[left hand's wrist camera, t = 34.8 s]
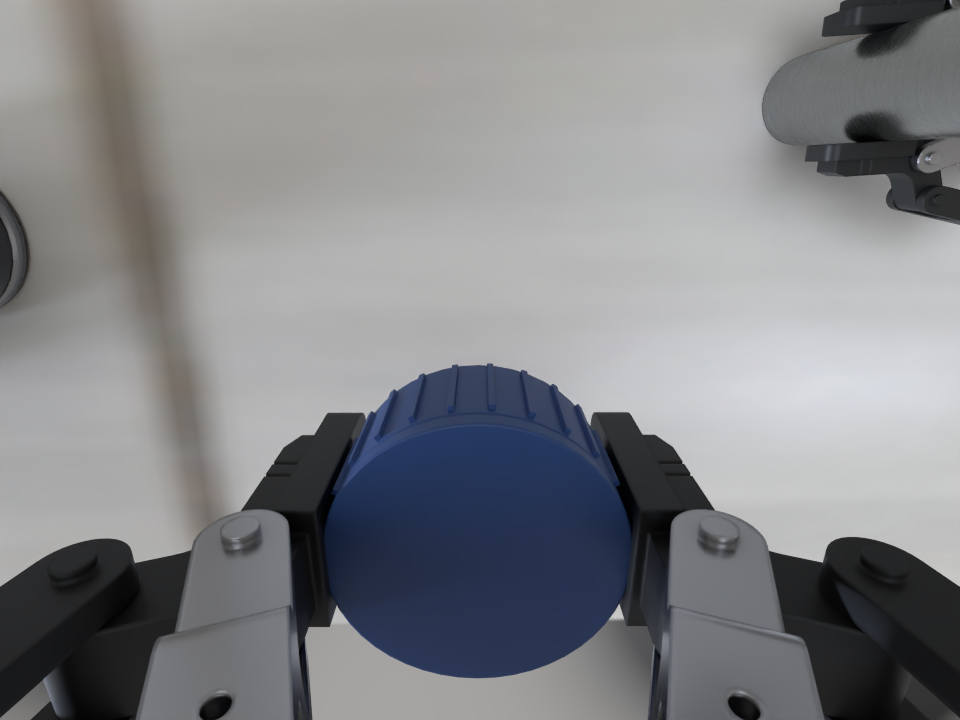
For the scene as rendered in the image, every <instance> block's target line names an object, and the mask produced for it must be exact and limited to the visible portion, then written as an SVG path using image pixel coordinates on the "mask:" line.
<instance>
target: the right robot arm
mask: <svg viewBox="0 0 960 720" xmlns="http://www.w3.org/2000/svg"><path fill="white" fill-rule="evenodd" d="M958 6H960V0H845V1H843V2H841V4H840V11H839V12H837V13H834V14H832V15H829V16H827V17H825V18H824V23H823V30H822V36H823V37H829V36H843V35H857V34H872V33H876V32H879V31H882V30H886V29H889V28H892V27H895V26H898V25H901V24H905V23H908V22H911V21H914V20H917V19H920V18H924V17H927V16H930V15H933V14H936V13H939V12H943V11H946V10H949V9H952V8H955V7H958ZM805 161H814V162H818V166H817V172H818V173H821V174H824V175H827V176H845V177H846V176H861V175H876V174H886V175H887V176H888V177H889V179H890V181H891V186H892V188H891V189H890V191H889V192H888V194H887V197H886V203H887V205H888V206H889V207H890V208H891V209H895V210H899V211H903V212H908V213H912V214H916V215H920V216H924V217H929V218H933V219H937V220H941V221H946V222H950V223H954V224H958V225H960V190H958V189H954V188H950V187H946V186H942V179H941V172H940V170H941V169H943V168H946V167H949V166H951V165H954V164H957V163H959V162H960V138H947V139H924V140H901V141H872V142H852V143H838V144H823V145H809V146H807V149H806V157H805Z"/></svg>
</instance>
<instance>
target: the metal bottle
mask: <svg viewBox="0 0 960 720" xmlns="http://www.w3.org/2000/svg"><path fill="white" fill-rule="evenodd" d="M763 117H764V121H765V124H766V126H767V128H768V130H769V131H770V133H771V134H772V135H773V136H774V137H775V138H776V139H778V140H779V141H781V142H783V143H786V144H791V145H807V144H830V143H852V142H872V141H901V140H924V139H947V138H960V6H958V7H955V8H952V9H949V10H946V11H943V12H939V13H936V14H933V15H930V16H927V17H924V18H920V19H917V20H914V21H911V22H908V23H905V24H901V25H898V26H895V27H892V28H889V29H886V30H882V31H879V32H876V33H873V34H870V35H867V36H863V37H860V38H857V39H854V40H851V41H848V42H844V43H841V44H838V45H835V46H832V47H829V48H825V49H822V50H819V51H816V52H813V53H810V54H806V55H803V56H800V57H798V58H795V59H793V60H791V61H790V62H788V63H787V64H785V65H784V66H783V67H782V68H781V69H779V70H778V72H777V73H776V74H775V75H774V77H773V78H772V79H771V81H770V83H769V85H768V87H767V89H766V92H765V95H764V100H763Z"/></svg>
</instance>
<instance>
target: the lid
mask: <svg viewBox="0 0 960 720" xmlns="http://www.w3.org/2000/svg"><path fill="white" fill-rule="evenodd" d="M619 485H620V482H619V480H618V478H617V476H616V473H615V471H614V469H613V466H612V464H611V462H610V459H609V457H608V455H607V452H606V450H605V448H604V446H603V443H602V441H601V439H600V436H599V434H598V432H597V430H596V429H594V430H592V429H591V427H590V425H589V424H588V422H587V420H586V418H585V415H584V413H583V411H582V408H581V407H580V406H579V404H577V405H576V406H575V405H574V404H573V403H572V402H571V401H570V400H569V399H567V398H566V397H565V396H564V395H563V394H562V393H560V392H559V391H558V388H557V386H556V385H554V384H552V385H551V386H550V385H548V384H547V383H545V382H543V381H541V380H539V379H537V378H535V377H533V376H531V375H528V374H527V371H524V370H521V372H519V371H516V370H512V369H507V368H502V367H496V366H493V364H487V366H482V365H474V366H460V367H458V365H452V368H449V369H443V370H440V371H437V372H434V373H431V374H428V375H425V374H424V373H423V374H421V375H419V378H418V379H417V380H414V381H412V382H411V383H409V384H407V385H406V386H404V387H403V388H401V389H400V390H398V391H396V390H395V389H394V390H393V391H392V392H391V393H390V395H389V398H388V399H387V400H386V401H385V402H384V403H383V404H382V405H381V406H380V408H379V409H378V410H377V411H376V412H375V413H374V412H372V411H371V412H370V414H369V415H368V417H367V420H366V422H365V424H364V427H363V429H362V431H361V434H360V436H359V438H357V437H356V438H355V440H354V443H353V445H352V447H351V449H350V452H349V454H348V456H347V458H346V461H345V463H344V465H343V467H342V470H341V472H340V474H339V476H338V479H337V481H336V483H335V485H334V488H333V490H332V492H331V494H332V495H334V496H335V499H334V501H333V503H332V505H331V508H330V510H329V513H328V516H327V519H326V523H325V526H324V540H325V549H326V558H327V566H328V575H329V583H330V590H331V595H332V597H333V599H334V600H335V602H336V604H337V606H338V608H339V610H340V611H341V612H342V614H343V615H344V616H345V618H346V619H347V621H348V622H349V623H350V624H351V625H352V626H353V627H354V628H355V629H356V630H357V632H358V633H359V634H360V635H361V636H363V637H364V638H365V639H366V640H367V641H369V642H370V643H371V644H372V645H374V646H375V647H376V648H378V649H380V650H381V651H383V652H384V653H386V654H387V655H389V656H391V657H393V658H395V659H397V660H399V661H401V662H403V663H405V664H408V665H410V666H413V667H416V668H419V669H421V670H424V671H428V672H433V673H436V674H440V675H447V676H453V677H463V678H493V677H502V676H509V675H515V674H519V673H523V672H527V671H531V670H534V669H537V668H540V667H542V666H545V665H548V664H550V663H552V662H554V661H556V660H558V659H561V658H563V657H565V656H566V655H568V654H570V653H571V652H573V651H574V650H576V649H578V648H579V647H581V646H582V645H583V644H584V643H585V642H587V641H588V640H589V639H590V638H592V637H593V636H594V635H595V634H596V633H597V632H598V631H599V630H600V629H601V628H602V627H603V626H604V625H605V624H606V622H607V621H608V620H609V618H610V617H611V616H612V614H613V613H614V611H615V610H616V608H617V606H618V605H619V603H620V601H621V599H622V597H623V595H624V593H625V590H626V586H627V578H628V570H629V561H630V552H631V542H632V530H631V526H630V523H629V519H628V516H627V512H626V510H625V507H624V505H623V503H622V500H621V498H620V495H619V493H618V491H617V488H616V486H619Z"/></svg>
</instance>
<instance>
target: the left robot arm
mask: <svg viewBox="0 0 960 720" xmlns="http://www.w3.org/2000/svg"><path fill="white" fill-rule="evenodd" d="M26 265H27V252H26V245H25V240H24V236H23V233H22V230H21V227H20V225H19V223H18V220H17V219H16V217H15V215H14V213H13V211H12V210H11V208H10V206H9V205H8V204H7V202H6V201H5V199H4V198H3V197H2V196H1V195H0V307H1V306H3V305H4V304H6V303H7V302H8V301H9V300H10V299H12V297H13V296H14V295H15V294H16V293H17V291H18V290H19V288H20V286H21V284H22V282H23V279H24V276H25V272H26ZM365 422H366V418H365V415H364V413H328V414H327V415H326V416H325V418H324V420H323V422H322V423H321V425H320V427H319V428H318V430H317V432H316V433H315V435H302V436H300V437H299V438H297V439H296V440H294V441H293V442H291V443H290V444H288V445H287V446H285V447H284V448H283V450H282V451H281V453H280V454H279V456H278V457H277V459H276V460H275V461H274V465H272V466H271V467H270V469H269V470H268V472H267V473H266V477H264V478H263V479H262V481H261V482H260V484H259V485H258V487H257V488H256V490H255V491H254V493H253V494H252V495H251V497H250V498H249V500H248V501H247V503H246V504H245V506H244V507H243V509H242V510H241V512H236V513H233V514H230V515H227V516H225V517H223V518H220V519H218V520H217V521H215V522H213V523H211V524H210V525H208V526H207V527H206V528H205V529H203V530H202V531H201V532H200V533H199V535H198V536H197V537H196V539H195V540H194V543H193V546H192V550H190V551H187V552H184V553H180V554H176V555H172V556H167V557H162V558H158V559H153V560H148V561H143V562H138V563H135V562H134V559H133V555H132V551H131V549H130V547H129V546H128V545H127V544H126V543H125V542H123V541H120V540H116V539H94V540H89V541H84V542H80V543H76V544H73V545H70V546H67V547H65V548H62V549H60V550H58V551H55V552H53V553H51V554H49V555H47V556H46V557H44V558H42V559H41V560H39V561H37V562H36V563H34V564H33V565H32V566H30V567H29V568H27V569H26V570H24V571H23V572H21V573H20V574H18V575H17V576H15V577H14V578H12V579H11V580H10V581H8V582H7V583H5V584H4V585H2V586H1V587H0V717H2V716H3V715H4V714H5V713H6V712H7V711H8V710H9V709H11V708H12V707H13V706H14V705H15V704H16V703H17V702H18V701H20V700H21V699H22V698H23V697H24V696H25V695H26V694H27V693H29V692H30V691H31V690H32V689H33V688H34V687H35V686H36V685H38V684H39V683H40V682H41V681H42V680H44V683H45V686H46V688H47V691H48V694H49V697H50V699H51V701H50V702H49V703H48V704H47V705H46V706H45V707H44V708H43V709H42V710H41V711H40V712H38V713H37V714H36V715H35V716H34V717H33V718H32V719H31V720H312V708H311V695H310V681H309V668H308V656H307V649H306V642H305V636H306V633H307V630H308V628H309V627H330V624H331V621H332V618H333V615H334V612H335V609H336V606H337V604H336V602H335V600H334V599H333V597H332V595H331V590H330V583H329V575H328V566H327V558H326V549H325V540H324V526H325V523H326V519H327V516H328V513H329V510H330V508H331V505H332V503H333V501H334V499H335V496H334V495H332V494H331V492H332V490H333V488H334V485H335V483H336V481H337V479H338V476H339V474H340V472H341V470H342V467H343V465H344V463H345V461H346V458H347V456H348V454H349V452H350V449H351V447H352V445H353V443H354V440H355V438H356V437H357V438H359V436H360V434H361V431H362V429H363V427H364V424H365ZM590 427H591V429H592V430H594V429H596V430H597V432H598V434H599V436H600V439H601V441H602V443H603V446H604V448H605V450H606V452H607V455H608V457H609V459H610V462H611V464H612V466H613V469H614V471H615V473H616V476H617V478H618V480H619V482H620V485H619V486H616V488H617V491H618V493H619V495H620V498H621V500H622V503H623V505H624V507H625V510H626V512H627V516H628V519H629V523H630V526H631V530H632V542H631V552H630V561H629V570H628V578H627V586H626V590H625V593H624V595H623V597H622V599H621V601H620V603H619V604H620V607H621V610H622V613H623V616H624V620H625V623H626V626H647V627H648V630H649V632H650V635H651V638H652V641H653V643H654V649H653V656H652V667H651V681H650V695H649V709H648V720H929V719H928V718H927V717H926V716H925V715H924V714H923V713H922V712H920V711H919V710H918V709H917V708H916V707H915V706H914V705H913V704H912V703H911V702H910V701H909V700H908V699H907V698H906V697H905V693H906V690H907V688H908V685H909V682H910V680H911V677H912V676H913V677H915V678H916V679H917V680H918V681H919V682H920V683H921V684H922V685H924V686H925V687H926V688H927V689H928V690H929V691H930V692H931V693H933V694H934V695H935V696H936V697H937V698H938V699H939V700H940V701H942V702H943V703H944V704H945V705H946V706H947V707H948V708H949V709H950V710H952V711H953V712H954V713H955V714H956V715H957V716H958V717H959V718H960V587H959V586H958V585H956V584H955V583H953V582H952V581H950V580H949V579H947V578H946V577H945V576H943V575H942V574H940V573H939V572H937V571H936V570H934V569H933V568H931V567H930V566H928V565H927V564H926V563H924V562H923V561H921V560H920V559H918V558H916V557H915V556H913V555H911V554H909V553H908V552H906V551H904V550H902V549H899V548H897V547H895V546H892V545H889V544H886V543H884V542H880V541H876V540H872V539H867V538H859V537H845V538H840V539H836V540H834V541H832V542H831V543H830V544H829V545H828V547H827V549H826V553H825V556H824V560H823V563H821V562H817V561H812V560H807V559H802V558H797V557H793V556H788V555H783V554H779V553H775V552H771V551H769V550H768V545H767V543H766V540H765V539H764V537H763V536H762V535H761V533H760V532H759V531H758V530H757V529H755V528H754V527H753V526H752V525H750V524H749V523H747V522H745V521H743V520H742V519H740V518H737V517H735V516H733V515H730V514H727V513H724V512H719V511H715V510H714V508H713V507H712V505H711V504H710V502H709V501H708V499H707V498H706V496H705V495H704V493H703V492H702V490H701V489H700V487H699V486H698V484H697V483H696V481H695V480H694V478H693V477H692V476H690V472H689V471H688V469H687V468H686V466H685V465H684V464H682V460H681V459H680V457H679V456H678V454H677V453H676V451H675V450H674V448H673V447H672V446H671V445H669V444H668V443H666V442H665V441H663V440H662V439H660V438H659V437H657V436H656V435H642V433H641V432H640V430H639V428H638V426H637V425H636V423H635V421H634V420H633V418H632V416H631V415H630V413H628V412H594V413H593V415H592V419H591V426H590Z"/></svg>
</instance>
